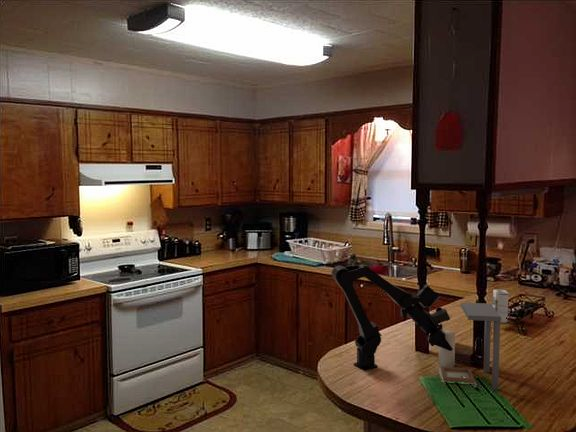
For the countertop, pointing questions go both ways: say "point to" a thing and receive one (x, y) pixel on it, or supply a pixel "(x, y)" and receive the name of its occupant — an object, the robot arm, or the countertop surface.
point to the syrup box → (501, 303)
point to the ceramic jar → (447, 351)
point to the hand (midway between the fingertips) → (450, 347)
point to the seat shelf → (485, 314)
